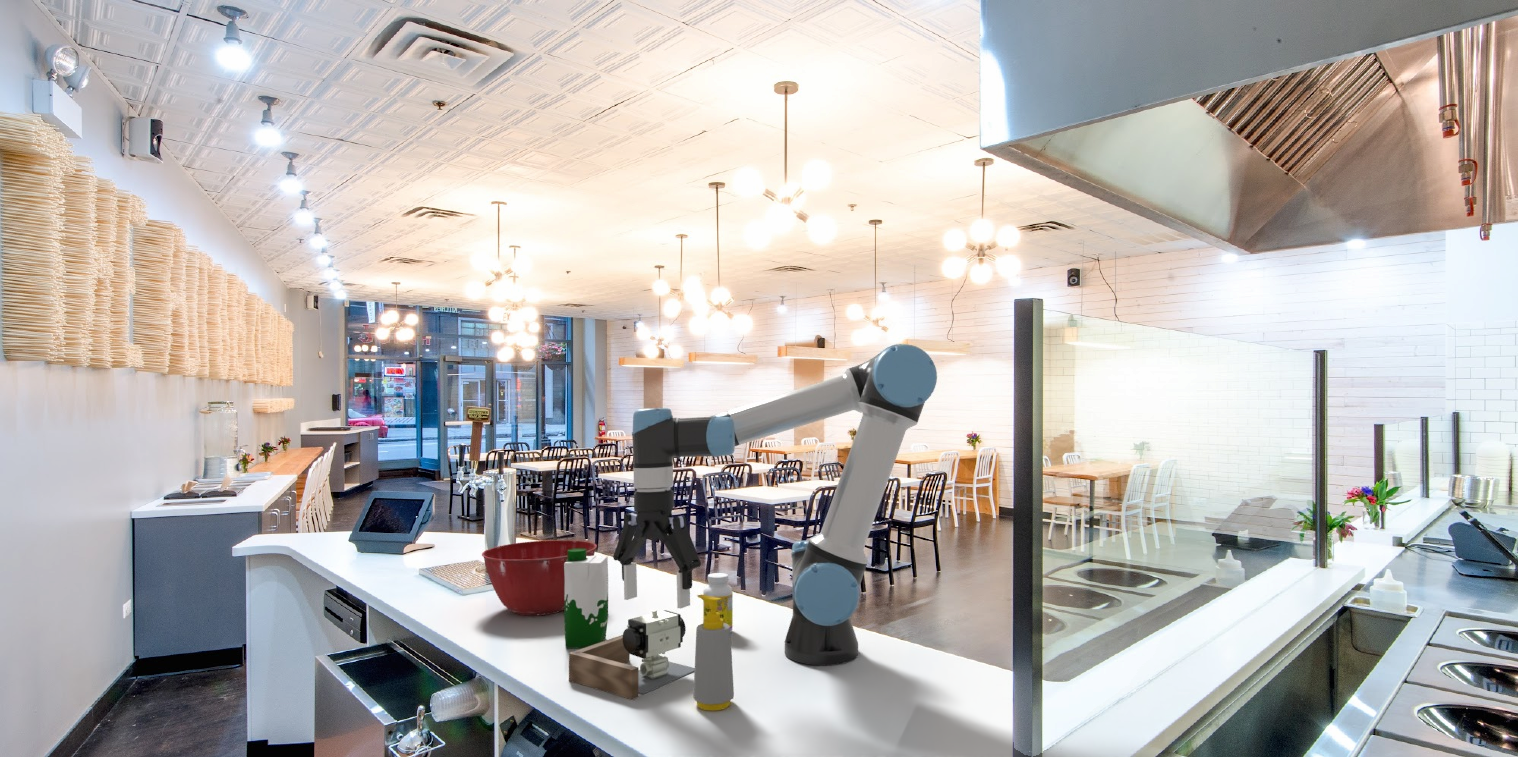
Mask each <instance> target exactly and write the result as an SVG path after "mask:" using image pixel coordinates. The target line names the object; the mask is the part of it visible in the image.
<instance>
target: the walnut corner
mask: <svg viewBox="0 0 1518 757" xmlns="http://www.w3.org/2000/svg"><path fill="white" fill-rule="evenodd" d="M622 637H623V634H621V635H618V636H615V637H613V638H610V639H606V640H604V641H603V642H600V643H597V644H594V645H591V646H588V647H586V648H579V649H576V650H574V651H571V652H569V653H568V681H569V682H573V683H576V684H579V685H583V686H586V687H589V688H592V689H595V690H599V691H602V692H606V693H608V694H613V695H616V696H618V697H622V698H626V699H629V700H634V699H637V698H638V697H639V693H638V670H640V667H639V666H634V665H631V664H627V663H628V662H630V661H631V660H630V657H631V656H630V655H631V654H629V653H628V651H627V650H626V649H625V647H624V645H623V640H622Z"/></svg>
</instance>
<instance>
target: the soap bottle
mask: <svg viewBox="0 0 1518 757" xmlns="http://www.w3.org/2000/svg"><path fill="white" fill-rule="evenodd" d="M696 596H697V598H699V599H701V600H702V601H705V602H706V603H709V608H710V609H711V612H709V613H707V619H704V621H703V620H702V623H701V624H699V625H697V627H696V633H695V651H694V653H695V654H694V658H695V659H694V668H695V671H694V672H693V673H694V675H693V677H694V680H693V699H694V701H696V706H698V708H699V709H701V710H704V711H712V712H713V711H715V712H716V711H721V710H725V709H727V708H728V707H730V705H731V700H733V699H734V696H735V692H734V691H735V690H734V688H735V687H734V673H733V656H732V652H733V651H732V637H731V633H732V632H731V633H730V626H729V625H728V624H726V623H723V619H721V618H720V613H718V612H716V608H717V600H720V599H721V598H716V597H712V596H707V595H703V594H697V595H696Z"/></svg>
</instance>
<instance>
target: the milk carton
mask: <svg viewBox="0 0 1518 757" xmlns="http://www.w3.org/2000/svg"><path fill="white" fill-rule="evenodd" d="M608 557H609V556H605V555H604V556H603V555H602V556H601V555H599V556H597V555H594V556H586V549H583V548H575V549H569V550H568V551H567V560H566V562H565V563H564V575H565V604H564V610H563V612H564V613H563V614H564V616H563V617H564V622H563V623H564V624H563V625H564V638H565V639H564V641H565V643H564V645H565V649H583V648H586V647H588V646H591V645H594V644H597V643H600V642H603V641H605V639H606V638H607V629H608V623H609V622H608V621H609V564H608V562H609V561H608V559H609V558H608Z"/></svg>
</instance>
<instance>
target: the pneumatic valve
mask: <svg viewBox="0 0 1518 757" xmlns="http://www.w3.org/2000/svg"><path fill="white" fill-rule="evenodd" d="M681 616H682V615H681V614H680V613H677V612H674V611H670V610H661V611H658V610H656V609H655V610H652V611H651V613H650V614H649V613H648V614H645V615H640V616H637V617H633V618H629V619H627V625H626V627H627V628H625V629H624V631H623V633H622V635H623V637H622V640H623V645H624V647H625V649H626V650H627V651H628V653H629V654H630V655H632V656H635V657H637V658H640V659H641V662H642V663H641V664H640V665H639V666H640V667H639V670H640V672H641V674H642V676H647V677H650V679H652V680H653V679H656V678H659V677H662V676H665V675H667V673H668V671H667V669H668V667H669V662H670V661H669V657H668V656H666V655H665V654H666V652H669V651H673V650H675V649H679V648H681V646H682V645H681V643H683V640H684V636H685V634H686V627H687V626H686V623H685V621H684V619H683V618H682V617H681ZM660 654H661V655H660ZM662 655H664V656H662Z"/></svg>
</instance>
